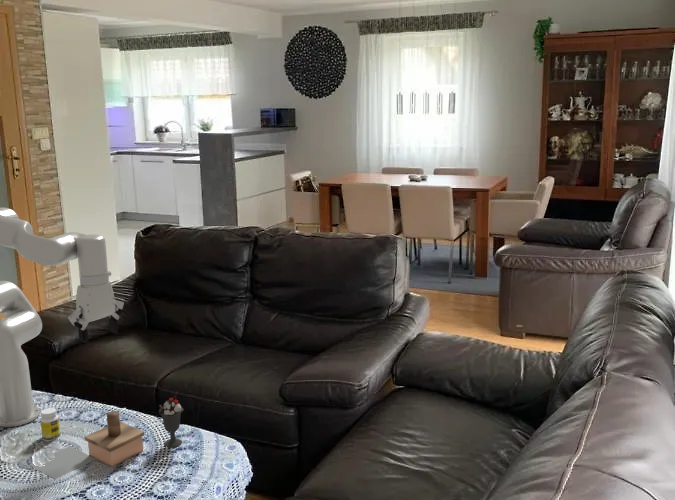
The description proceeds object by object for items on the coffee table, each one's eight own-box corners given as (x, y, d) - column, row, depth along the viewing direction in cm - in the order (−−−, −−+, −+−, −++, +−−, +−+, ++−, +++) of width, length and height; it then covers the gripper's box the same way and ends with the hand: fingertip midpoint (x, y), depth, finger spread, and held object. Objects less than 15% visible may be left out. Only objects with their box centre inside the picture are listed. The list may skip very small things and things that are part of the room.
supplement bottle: (53, 442, 190) (50, 415, 188) (38, 441, 191) (35, 413, 189) (63, 434, 194) (61, 407, 192) (49, 433, 195) (46, 406, 193)
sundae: (190, 440, 191) (187, 391, 187) (175, 451, 185) (171, 400, 181) (171, 435, 193) (168, 387, 190) (156, 446, 187) (152, 396, 184)
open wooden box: (89, 456, 182) (87, 439, 181) (120, 441, 190) (118, 425, 189) (112, 468, 176) (110, 450, 175) (143, 452, 184) (141, 435, 183)
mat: (29, 465, 178) (28, 464, 178) (69, 447, 187) (69, 445, 187) (55, 480, 171) (54, 479, 171) (96, 460, 180) (95, 458, 180)
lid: (84, 440, 181) (82, 416, 179) (119, 424, 190) (117, 401, 188) (110, 452, 175) (108, 427, 173) (144, 435, 183) (142, 411, 182)
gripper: (112, 270, 197) (116, 326, 201) (58, 284, 183) (64, 343, 187) (128, 274, 193) (132, 331, 196) (74, 288, 179) (80, 349, 183)
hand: (99, 337), depth 192 cm, fingers open, 9 cm apart
